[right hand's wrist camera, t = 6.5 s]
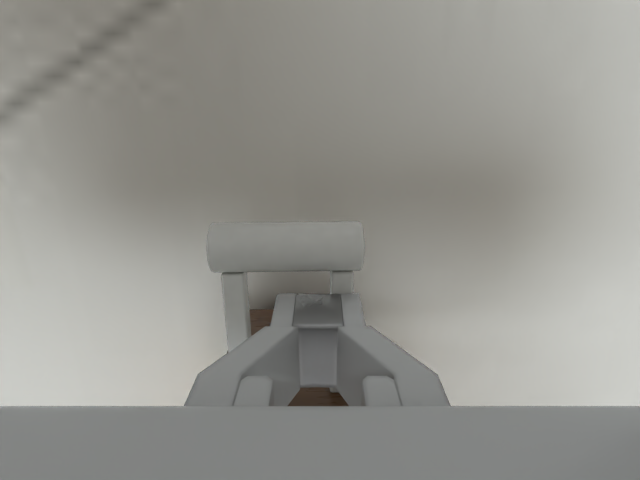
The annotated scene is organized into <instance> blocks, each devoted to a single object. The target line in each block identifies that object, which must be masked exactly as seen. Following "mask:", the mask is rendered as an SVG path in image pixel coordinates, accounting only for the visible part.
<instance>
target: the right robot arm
mask: <svg viewBox="0 0 640 480" xmlns="http://www.w3.org/2000/svg"><path fill="white" fill-rule="evenodd" d="M307 387H329V388H336V389H337V391H338V392H339V393H340V395H341V396H342V397H343V399H344V400H345V401H346V403H347V404H348V405H349V406H288V404H289V403H290V402H291V401H292V399H293V398H294V397H295V395H296V394H297V393H298V391H299V390H300V388H307ZM0 480H640V406H450V403H449V401H448V398H447V396H446V394H445V391H444V389H443V386H442V384H441V382H440V379H439V377H438V375H437V374H436V373H435V372H433V371H432V370H430V369H429V368H428V367H426V366H425V365H424V364H422V363H421V362H419V361H418V360H417V359H415V358H414V357H413V356H411V355H410V354H408V353H407V352H406V351H404V350H403V349H402V348H400V347H399V346H397V345H396V344H395V343H393V342H392V341H391V340H389V339H388V338H386V337H385V336H384V335H382V334H381V333H380V332H378V331H377V330H375V329H374V328H373V327H371V326H366V324H365V319H364V314H363V309H362V304H361V299H360V295H359V294H358V293H351V294H295V293H286V294H278V295H277V297H276V301H275V306H274V311H273V315H272V320H271V325H270V326H265V327H263V328H262V329H261V330H259V331H258V332H256V333H255V334H254V335H252V336H251V337H249V338H248V339H247V340H245V341H244V342H242V343H241V344H240V345H238V346H237V347H235V348H234V349H233V350H231V351H230V352H228V353H227V354H226V355H224V356H223V357H221V358H220V359H219V360H217V361H216V362H214V363H213V364H212V365H210V366H209V367H207V368H206V369H205V370H203V371H202V372H200V373H199V374H198V375H197V378H196V380H195V382H194V384H193V387H192V389H191V391H190V393H189V396H188V398H187V400H186V402H185V405H184V406H0Z"/></svg>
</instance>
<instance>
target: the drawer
mask: <svg viewBox="0 0 640 480" xmlns="http://www.w3.org/2000/svg"><path fill="white" fill-rule="evenodd" d="M364 251H365V245H364V231H363V226H362V224H361V222H359V221H347V222H237V223H212V224H211V225H210V227H209V230H208V235H207V260H208V264H209V267H210V270H211V271H212V272H223V273H222V275H221V282H222V292H223V302H224V312H225V323H226V333H227V343H228V351H227V353H228V352H230V351H231V350H233V349H234V348H235V347H237V346H238V345H240V344H241V343H242V342H244V341H245V340H247V339H248V338H249V337H251V336H252V335H254V334H255V333H256V332H258V331H259V330H261V329H262V328H263V327H265V326H270V325H271V320H272V315H273V311H274V309H255V310H249V296H248V282H247V272H286V271H330V294H351V293H353V280H354V274H353V271H359V270H361V269H362V267H363V263H364ZM288 406H349V405H348V404H347V403H346V401H345V400H344V399H343V397H342V396H341V395H340V393H339V392H338V391H337V389H336V388H329V387H307V388H300V390H299V391H298V393H297V394H296V395H295V397H294V398H293V399H292V401H291V402H290V403H289V404H288Z"/></svg>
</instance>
